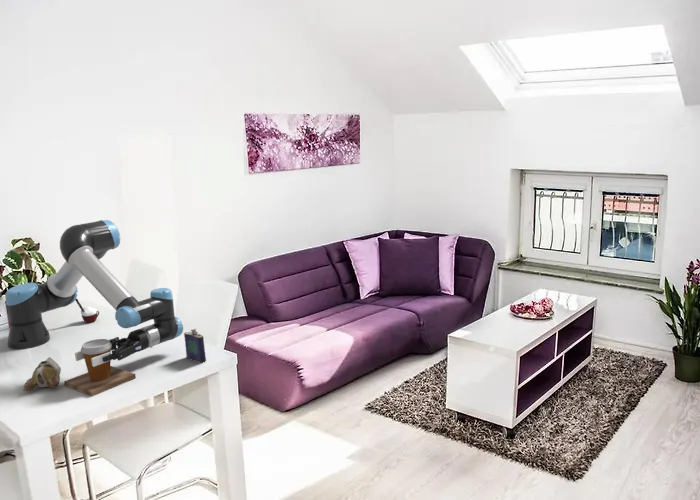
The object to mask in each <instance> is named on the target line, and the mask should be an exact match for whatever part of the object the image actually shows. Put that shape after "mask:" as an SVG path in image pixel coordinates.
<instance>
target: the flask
mask: <svg viewBox="0 0 700 500" xmlns="http://www.w3.org/2000/svg"><path fill="white" fill-rule="evenodd" d="M183 335H184V342H185V343H184V344H185V355H186V359H187V360H191V359H192V360H191V361H193V360H194V361H193V362H197V363H199V362H200V364H204V363H206V362H207V358H206V349H205V339H204V335H203V334H201V333H198V331H197V329H196V328H193V329H190V331H185V332H183ZM205 361H206V362H205ZM203 362H204V363H203Z"/></svg>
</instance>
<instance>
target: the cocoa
mask: <svg viewBox="0 0 700 500" xmlns="http://www.w3.org/2000/svg"><path fill="white" fill-rule="evenodd" d="M74 302H76V303H77V305H78V307H79V308H80V314H81V318H82V320H83V322H84V323H88V324H91V323H94V322H96V321H97V319H98V317H99V314H100V311H99V310H98V309H96V308H94V307H90V306H84V307H83V306H82V304H81V303H80V302H79V299H78V298H76V300H75V301H74Z"/></svg>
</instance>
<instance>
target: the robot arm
mask: <svg viewBox="0 0 700 500" xmlns="http://www.w3.org/2000/svg"><path fill="white" fill-rule="evenodd" d="M120 244H121V234H120V231H119V228H118V227H117V225H116V223H114V222H113V221H112V220H110V219H104V220H103V219H100V220H97V221H93V222H86V223H80V224H74V225H71V226H70V227H68V228H66V229H65V230H64V232H63V233H62V234H61V236H60V240H59V249H60V253H61V255H62V258H63V259H64V260H65V262H64V263H63V264H62V265H61V267H60V268H59V270H58V271H57V272H56V273H53V274H51V275H50V276H49V277H48V278H47V280H45V282H44V283H39V284H37V283H34V282H26V283H21V284H18V285H14V286H13V287H10V288H9V289H8V290H7V291H6V292H5V304H6V310H7V316H8V320H9V321H8V322H9V331H8V336H7V347H8V348H10V349H15V350H16V349H17V350H19V349H28V348H29V349H30V348H33V347H38V346H41V345H43V344H45V343H47V342H49V341H50V340H51V336H50V335H51V334H50V333H49V330H48V329H47V327H46V325H45V324H44V323H45V322H44V321H43V315H42V314H43V313H47V312H49V311H53V310H57V309H59V308H65V307H67V306H69V305H72V304H74V303H75V302H76V301H75V300H76V299H78V298H77V297H78V285H77V284H78V283H79V281H80V280H81V279H82V278H83V277H84V278H85V279H86V280H87V281H88V282H89V283H90V284H91V285H92V286H93V288H94V289H95V290H96V291H97V292H98V293H99V294H100V296H102V298H104V300H105V301H106V302H107V303H108V304H109V305H110V306H111V307H112V308H113V309H114V310H115V313H114V314H115V315H114V317H115V321H116V322H117V325H118V326H119V327H120V328H122V329H129V328H133V327H134V328H135V327H137V326H139V325H141V324H144V323H145V322H148V321H152V320H153V324H149V325H146V326H143V327H141V328H137V329H134V330H132V331H130V332H129V333H128V335H127V337H121V338H120V337H119V336H115V337H113V338H111V339H108V340H109V341H110V343H111V344H112V346H111V352H108V353H105V354H102V355H99V356H97V357H94V358H91V360H92V366H93V367H94V366H97V365H100V364H103V363H105V362H108V361H110V362H111V361H115V360H117V361H121V360H123V359H126V358H128V357H131V355H133V354H134V355H135V354H136V353H139V352H141V351H144V350H146V349H149V348H150V349H152V348H154V346H157V345H160V344H162V343H165V342H168V341H171V340H174V339H176V338H178V337H179V336H180V337H181V335H182V334H183V333H184V324H183V323H182V320H181V319H180V317H176V316H175V306H174V298H173V292H172V289H171V288H168V287H159V288H155V289H152V290H151V291H150V294H149V295H150V296H149V298H146V299H143V300H140V301H139V300H138V299H137V298H136V297H135V296H133V294H132V293H130V291H129V290H128V289H127V288H126V287H125V286H124V285H123V284H122V283H121V281H119V280H118V278H117V277H116V276H115V275H114V274H113V273H112V272H111V271H110V270H109V268H108V267H106V266H105V264H104V263H103V262H102V261H101V259H102V258H103V257H104V256H105V255H106V254H107V252H109V251H110V250H115V249H117V248H118V247H120ZM74 358H75V361H76V362H79V361H81V360H85V359H84V355H83V353H82V351H81V350H80V351H76V352H74Z"/></svg>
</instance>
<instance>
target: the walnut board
mask: <svg viewBox="0 0 700 500" xmlns="http://www.w3.org/2000/svg"><path fill="white" fill-rule="evenodd" d="M136 376H137V375H136V373H133V372H130V371H128V370H124V369H121V368H118V367H115V366H111V365H110V377H109V378H107V379H105V380H102V381H91V380H90V377H89V373H88V372H86V373H82V374H80V375H78V376H75V377H72V378H70V379H66V380H64V381H63V383H64V386H65V387H67V388H70V389H72V390H76V391H78V392H80V393H82V394H85V395H87V396H90V397H94V396H95V395H99V394H101V393H103V392H106V391H109V390H110V389H114V388H115V387H119V386H120V385H122V384H125V383H127V382H128V383H129V382H130V381H133V380H135V379H136V378H137V377H136Z"/></svg>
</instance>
